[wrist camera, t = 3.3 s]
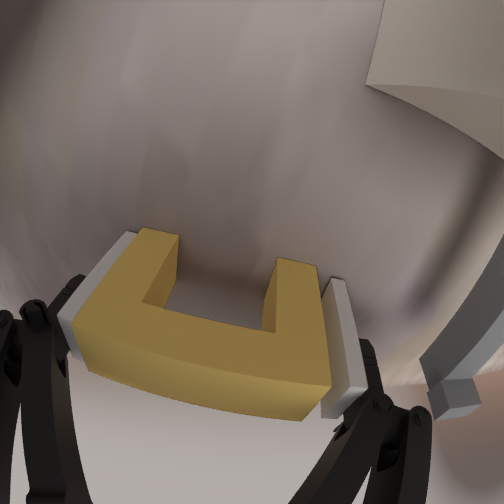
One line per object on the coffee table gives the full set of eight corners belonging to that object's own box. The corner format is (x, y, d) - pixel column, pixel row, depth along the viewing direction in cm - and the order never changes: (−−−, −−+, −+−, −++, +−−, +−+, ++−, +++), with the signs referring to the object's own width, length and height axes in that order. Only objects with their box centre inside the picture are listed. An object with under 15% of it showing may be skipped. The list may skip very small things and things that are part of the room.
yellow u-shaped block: (143, 272, 16) (88, 370, 10) (143, 227, 14) (70, 324, 8) (297, 307, 16) (301, 421, 10) (315, 265, 14) (332, 386, 8)
